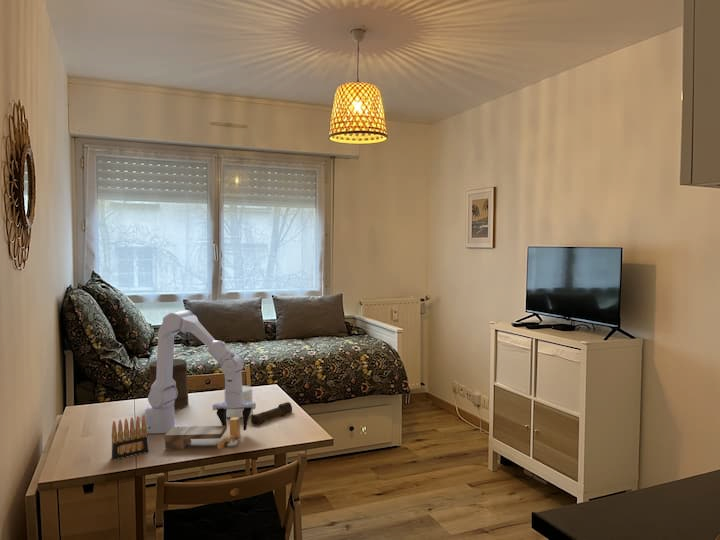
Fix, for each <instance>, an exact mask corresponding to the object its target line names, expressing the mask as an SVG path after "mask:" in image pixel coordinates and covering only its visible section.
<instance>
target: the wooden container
mask: <svg viewBox="0 0 720 540" xmlns="http://www.w3.org/2000/svg"><path fill="white" fill-rule="evenodd" d="M148 365H149V367H148V368H149V392H150V391H151V386H152V384H153V383H154V382H155V380H156V372H157V360H155V361H153V362H150V363H149V364H148ZM187 365H188V361H187V360H185V359H182V358H181V359H180V358H173V375H172V378H173V380H174V381H175V382H176V388H177V391H178V395H177V398H176V399H175V403H174V411H177V410H181V409H183V408H185V407H187V406H188V405H189V385H188V371H187V369H188V368H187V367H188V366H187Z"/></svg>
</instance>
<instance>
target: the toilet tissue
mask: <svg viewBox="0 0 720 540" xmlns="http://www.w3.org/2000/svg"><path fill="white" fill-rule="evenodd" d="M223 391H224V393H223V394H224V402H226V395H225V389H224V390H223ZM242 397H243V402H254V401H253V387H252V386H251V385H250V386H249V385H242ZM243 410H244V409H227V413H226V418H229V417H230V418H229V419H231V418H232V417H238V418H240V419H243V413H242V412H243ZM253 410H254V409H252V410H251V413H250V415H249V417H251V415H254V411H253ZM241 417H242V418H241Z"/></svg>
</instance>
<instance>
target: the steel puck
mask: <svg viewBox="0 0 720 540" xmlns="http://www.w3.org/2000/svg"><path fill="white" fill-rule="evenodd" d="M237 445H238V446H239V440H238V439H236V438H234V439H229V440H227V441H225V446H224V447H226V448H228V447H232V448H236V447H238V446H237ZM235 446H236V447H235Z"/></svg>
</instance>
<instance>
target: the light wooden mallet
mask: <svg viewBox="0 0 720 540" xmlns="http://www.w3.org/2000/svg"><path fill="white" fill-rule="evenodd" d="M240 435H241V418H238V417H232V418H229V434H228V435H226V436H225V437H224V438H223V439H222V440H221V441H219V442H218V443H217V444H216V445H217V449H220V448H222V449H223V448H225V447H226V446H225V441H227V440H229V439H236V438H238V437H240Z"/></svg>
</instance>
